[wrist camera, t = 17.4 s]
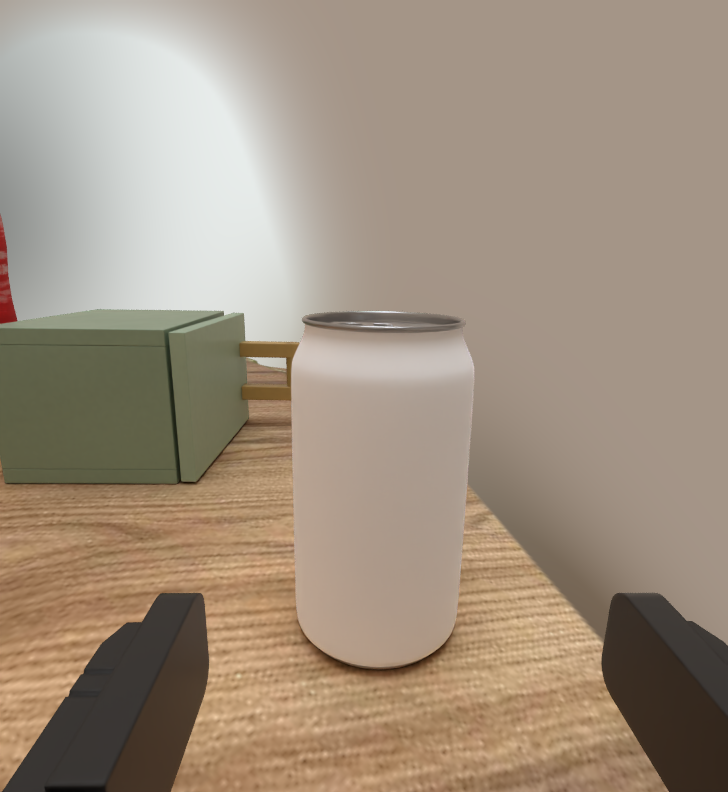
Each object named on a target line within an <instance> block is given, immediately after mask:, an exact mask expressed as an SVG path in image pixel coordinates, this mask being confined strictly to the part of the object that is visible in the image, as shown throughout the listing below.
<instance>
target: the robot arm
mask: <svg viewBox="0 0 728 792" xmlns="http://www.w3.org/2000/svg"><path fill="white" fill-rule="evenodd" d="M208 671H209V654H208V641H207V629H206V616H205V604H204V598H203V595H202V594H201V593H161V594H160V595H159V596H158V597H157V598H156V600H155V601H154V603H153V605H152V606H151V608H150V610H149V611H148V613H147V615H146V616H145V618H144V620H143V621H142V622H133V623H126V624H125V625H124V626H122V627H121V628H120V629H119V630H118V631H116V632H115V633H114V634H113V635H111V636H110V637H109V638H108V639H107V640H105V641H104V642H103V643H102V644H101V645H100V647H99V648H98V650H97V651H96V653H95V654H94V656H93V657H92V659H91V660H90V662H89V663H88V665H87V666H86V668H85V669H84V674H81V675H80V677H79V678H78V680H77V681H76V683H75V684H74V686H73V687H72V689H71V690H70V694H69V696H68V697H65V699H64V700H63V702H62V703H61V705H60V706H59V708H58V709H57V711H56V712H55V714H54V715H53V717H52V718H51V720H50V721H49V723H48V724H47V726H46V727H45V729H44V730H43V732H42V733H41V735H40V736H39V738H38V739H37V741H36V742H35V744H34V745H33V747H32V748H31V750H30V751H29V753H28V754H27V756H26V757H25V759H24V760H23V762H22V763H21V765H20V766H19V768H18V769H17V771H16V772H15V773H14V775H13V776H12V778H11V779H10V781H9V782H8V784H7V785H6V787H5V788H4V790H3V791H2V792H171V789H172V786H173V784H174V781H175V778H176V775H177V772H178V769H179V766H180V763H181V761H182V758H183V755H184V752H185V749H186V746H187V743H188V740H189V737H190V735H191V732H192V729H193V726H194V723H195V720H196V717H197V714H198V712H199V709H200V706H201V703H202V700H203V697H204V694H205V690H206V685H207V679H208ZM602 672H603V677H604V681H605V684H606V687H607V689H608V691H609V693H610V695H611V697H612V699H613V700H614V702H615V704H616V705H617V707H618V708H619V710H620V712H621V713H622V715H623V717H624V718H625V720H626V722H627V723H628V725H629V727H630V728H631V730H632V731H633V733H634V735H635V736H636V738H637V740H638V741H639V743H640V745H641V746H642V748H643V750H644V751H645V753H646V754H647V756H648V758H649V759H650V761H651V763H652V764H653V766H654V768H655V769H656V771H657V773H658V774H659V776H660V777H661V779H662V781H663V782H664V784H665V786H666V787H667V789H668V791H669V792H728V646H727V645H726V644H725V643H724V642H723V641H722V640H720V639H718V638H717V637H716V636H714V635H712V634H711V633H709V632H708V631H706V630H705V629H703V628H701V627H700V626H699V625H697V624H696V623H694V622H692V621H686V620H685V619H684V618H683V617H682V615H681V614H680V613H679V612H678V611H677V610H676V609H675V608H674V607H673V606H672V605H671V604H670V603H669V602H668V601H667V600H666V599H665V598H664V597H663V596H662V595H660V594H658V593H617V594H615V595H614V596H613V598H612V600H611V605H610V610H609V617H608V623H607V628H606V634H605V640H604V646H603V652H602Z"/></svg>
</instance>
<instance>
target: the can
mask: <svg viewBox="0 0 728 792" xmlns="http://www.w3.org/2000/svg"><path fill="white" fill-rule="evenodd" d="M302 321H303V323H305V331H304V334H303V337H302V339H301V342H300V344H299V346H298V348H297V350H296V352H295V355H294V357H293V360H292V368H291V409H292V461H293V506H294V547H295V583H296V608H297V617H298V621H299V624H300V627H301V629H302V630H303V632H304V634H305V635H306V636H307V638H308V639H309V640H310V641H311V642H312V643H313V644H314V645H315V646H316V647H318V648H319V649H320V650H322V651H323V652H324V653H325V654H327V655H328V656H330V657H332V658H333V659H335V660H337V661H340V662H342V663H344V664H347V665H351V666H354V667H359V668H364V669H376V670H383V669H394V668H399V667H404V666H407V665H410V664H413V663H415V662H418V661H420V660H422V659H423V658H425V657H427V656H428V655H430V654H431V653H433V652H434V651H436V650H437V649H438V648H439V647H441V646H442V645H443V644H444V643H445V642H446V640H447V639H448V638H449V636H450V634H451V633H452V630H453V628H454V625H455V622H456V617H457V608H458V597H459V585H460V572H461V559H462V546H463V533H464V519H465V506H466V492H467V478H468V464H469V451H470V449H469V448H470V436H471V422H472V407H473V391H474V364H473V361H472V358H471V355H470V353H469V351H468V348H467V346H466V343H465V341H464V337H463V329H462V327H463V326H465V324H466V321H465V320H464V319H462V318H458V317H453V316H447V315H439V314H428V313H412V312H388V311H348V312H327V313H317V314H310V315H306V316H304V317H303V318H302Z"/></svg>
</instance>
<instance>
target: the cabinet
mask: <svg viewBox="0 0 728 792" xmlns="http://www.w3.org/2000/svg"><path fill="white" fill-rule="evenodd" d="M221 316H224V311H180V310H173V311H172V310H104V309H103V310H102V309H97V310H90V311H84V312H77V313H71V314H63V315H57V316H50V317H43V318H36V319H30V320H23V321H16V322H10V323H3V324H0V458H1V464H2V468H3V475H4V480H5V483H128V484H177V483H178V482H179V481H180V480H181V471H180V459H179V448H178V436H177V425H176V413H175V402H174V390H173V379H172V367H171V356H170V344H169V332H172V331H175V330H178V329H182V328H185V327H188V326H192V325H195V324H198V323H201V322H205V321H208V320H211V319H215V318H218V317H221Z"/></svg>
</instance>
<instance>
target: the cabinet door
mask: <svg viewBox="0 0 728 792" xmlns="http://www.w3.org/2000/svg"><path fill="white" fill-rule="evenodd" d="M169 344H170V356H171V367H172V379H173V390H174V402H175V413H176V425H177V436H178V448H179V459H180V471H181V481H184V482H196V481H197V480H198V479H199V478H200V477H201V475H202V474H203V473H204V472H205V471H206V469H207V468H208V467H209V466H210V465H211V463H212V462H213V461H214V460H215V458H216V457H217V456H218V455H219V454H220V452H221V451H222V450H223V449H224V448H225V446H226V445H227V444H228V443H229V442H230V440H231V439H232V438H233V437H234V435H235V434H236V433H237V432H238V431H239V429H240V428H241V427H242V426H243V425H244V423H245V422H246V421H247V420H248V419H249V411H248V400H291V368H292V360H293V357H294V355H295V352H296V350H297V348H298V346H299V344H300V343H299V342H261V341H245V326H244V314H243V313H231V314H228V315H225V316H221V317H218V318H215V319H211V320H208V321H205V322H201V323H198V324H195V325H192V326H188V327H185V328H182V329H178V330H175V331H172V332H169ZM246 357H280V358H286V364H287V384H247V368H246Z"/></svg>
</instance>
